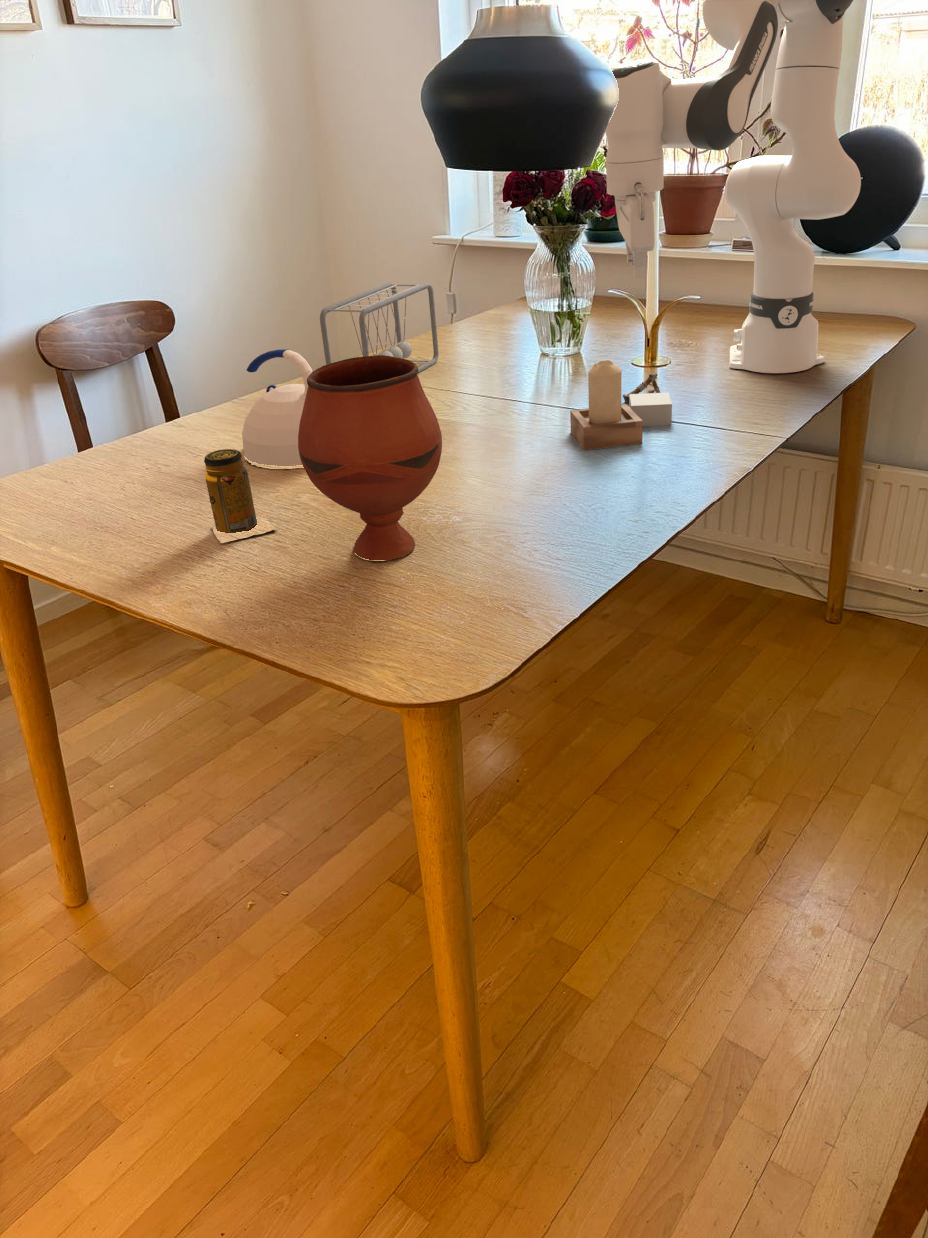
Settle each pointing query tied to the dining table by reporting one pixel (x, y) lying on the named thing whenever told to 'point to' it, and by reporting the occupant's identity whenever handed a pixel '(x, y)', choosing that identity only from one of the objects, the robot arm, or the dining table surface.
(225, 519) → the condiment
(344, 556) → the dining table surface
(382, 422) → the goblet
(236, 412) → the dining table surface
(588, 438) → the square wooden tray
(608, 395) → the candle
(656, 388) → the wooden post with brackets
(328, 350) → the newton's cradle
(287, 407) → the kettle
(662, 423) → the grey block
